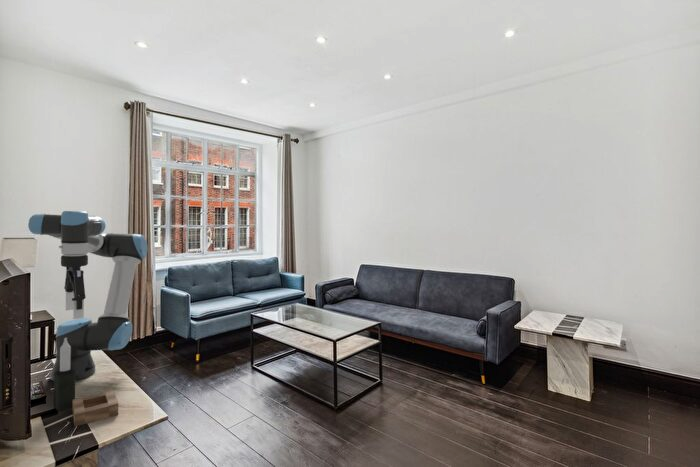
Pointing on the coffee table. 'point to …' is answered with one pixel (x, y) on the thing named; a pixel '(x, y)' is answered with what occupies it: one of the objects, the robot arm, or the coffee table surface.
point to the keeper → (94, 407)
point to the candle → (64, 380)
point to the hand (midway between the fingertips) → (74, 313)
